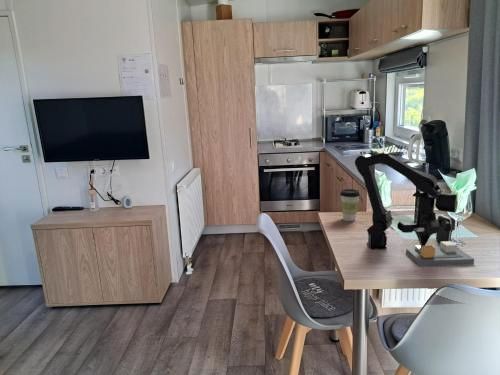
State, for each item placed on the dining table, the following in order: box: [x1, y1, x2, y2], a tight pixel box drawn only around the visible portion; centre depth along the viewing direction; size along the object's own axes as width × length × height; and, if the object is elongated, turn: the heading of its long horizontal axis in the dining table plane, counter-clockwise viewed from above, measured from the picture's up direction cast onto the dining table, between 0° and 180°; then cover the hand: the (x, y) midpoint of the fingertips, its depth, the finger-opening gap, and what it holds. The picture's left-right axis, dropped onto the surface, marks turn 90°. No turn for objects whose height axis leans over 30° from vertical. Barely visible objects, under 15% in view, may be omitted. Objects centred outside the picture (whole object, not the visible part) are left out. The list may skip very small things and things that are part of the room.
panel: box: [405, 246, 475, 267], centre depth 143 cm, size 20×12×2 cm, turn 91°
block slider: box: [420, 244, 435, 258], centre depth 140 cm, size 4×3×4 cm
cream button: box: [439, 240, 457, 253], centre depth 146 cm, size 4×4×3 cm
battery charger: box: [435, 214, 456, 242], centre depth 158 cm, size 7×4×11 cm, turn 15°
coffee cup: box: [339, 188, 361, 222], centre depth 191 cm, size 10×10×15 cm
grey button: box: [414, 244, 427, 254], centre depth 146 cm, size 4×4×3 cm
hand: (422, 247), depth 146 cm, fingers closed
